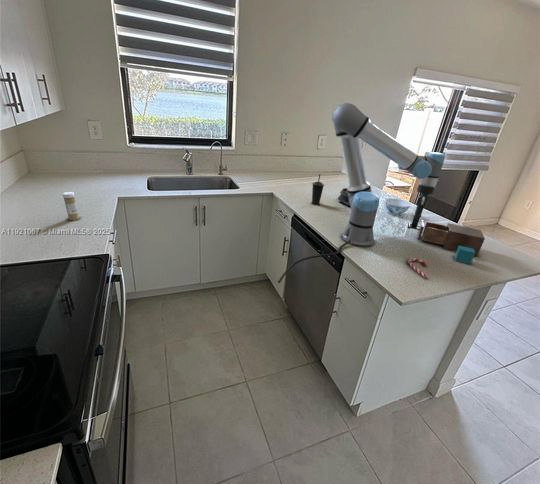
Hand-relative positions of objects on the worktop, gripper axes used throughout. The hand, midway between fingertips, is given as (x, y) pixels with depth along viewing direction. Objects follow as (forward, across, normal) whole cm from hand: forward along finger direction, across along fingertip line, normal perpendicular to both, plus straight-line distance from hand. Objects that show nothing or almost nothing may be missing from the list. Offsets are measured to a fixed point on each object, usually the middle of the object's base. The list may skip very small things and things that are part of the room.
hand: (413, 228), depth 152 cm
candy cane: (+5, -35, -5) cm, 35 cm away
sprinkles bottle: (+7, -81, +153) cm, 174 cm away
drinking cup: (+5, +19, +59) cm, 63 cm away
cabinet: (+5, 0, -23) cm, 23 cm away
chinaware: (+5, +33, +10) cm, 35 cm away
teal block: (+5, -15, -23) cm, 27 cm away
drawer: (+4, 0, -7) cm, 8 cm away
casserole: (+5, +37, +39) cm, 54 cm away
